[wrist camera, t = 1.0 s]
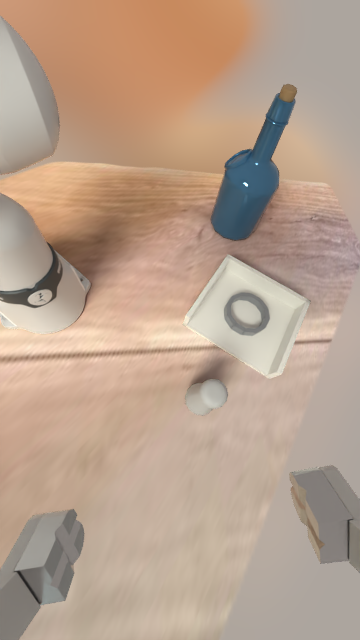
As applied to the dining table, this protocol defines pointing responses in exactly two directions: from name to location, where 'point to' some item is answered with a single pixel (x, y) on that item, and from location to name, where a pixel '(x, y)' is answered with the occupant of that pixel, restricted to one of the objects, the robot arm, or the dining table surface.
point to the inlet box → (248, 316)
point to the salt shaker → (206, 396)
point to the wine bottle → (252, 175)
